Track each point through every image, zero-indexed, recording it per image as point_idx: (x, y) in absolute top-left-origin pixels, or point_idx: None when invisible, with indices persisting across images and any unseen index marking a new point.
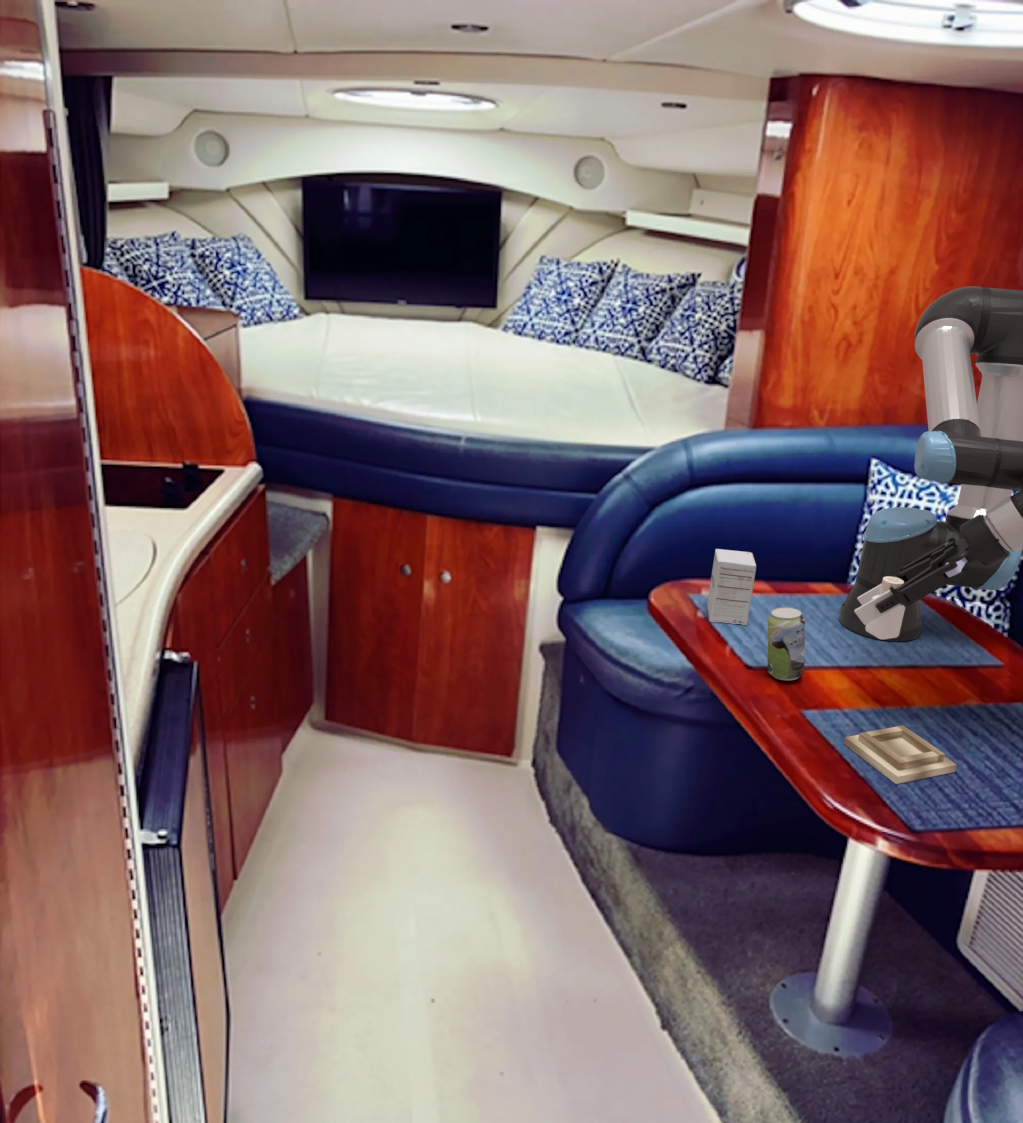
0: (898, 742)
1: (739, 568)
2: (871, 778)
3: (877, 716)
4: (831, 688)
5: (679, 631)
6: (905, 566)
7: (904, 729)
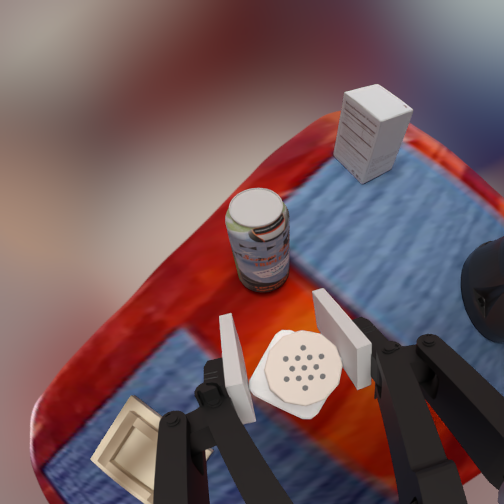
0: None
1: (363, 113)
2: (88, 434)
3: None
4: None
5: (282, 147)
6: (437, 350)
7: None
